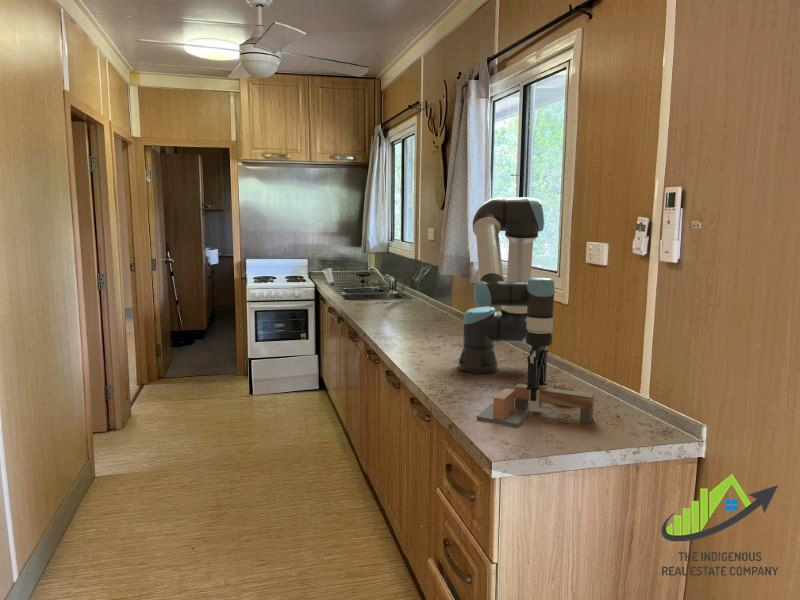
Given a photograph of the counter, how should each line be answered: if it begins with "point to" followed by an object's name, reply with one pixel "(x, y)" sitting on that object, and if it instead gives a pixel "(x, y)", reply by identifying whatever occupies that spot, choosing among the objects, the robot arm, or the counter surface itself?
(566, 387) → the mushroom
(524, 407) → the grey blocks
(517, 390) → the rod
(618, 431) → the counter surface
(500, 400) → the fulcrum
